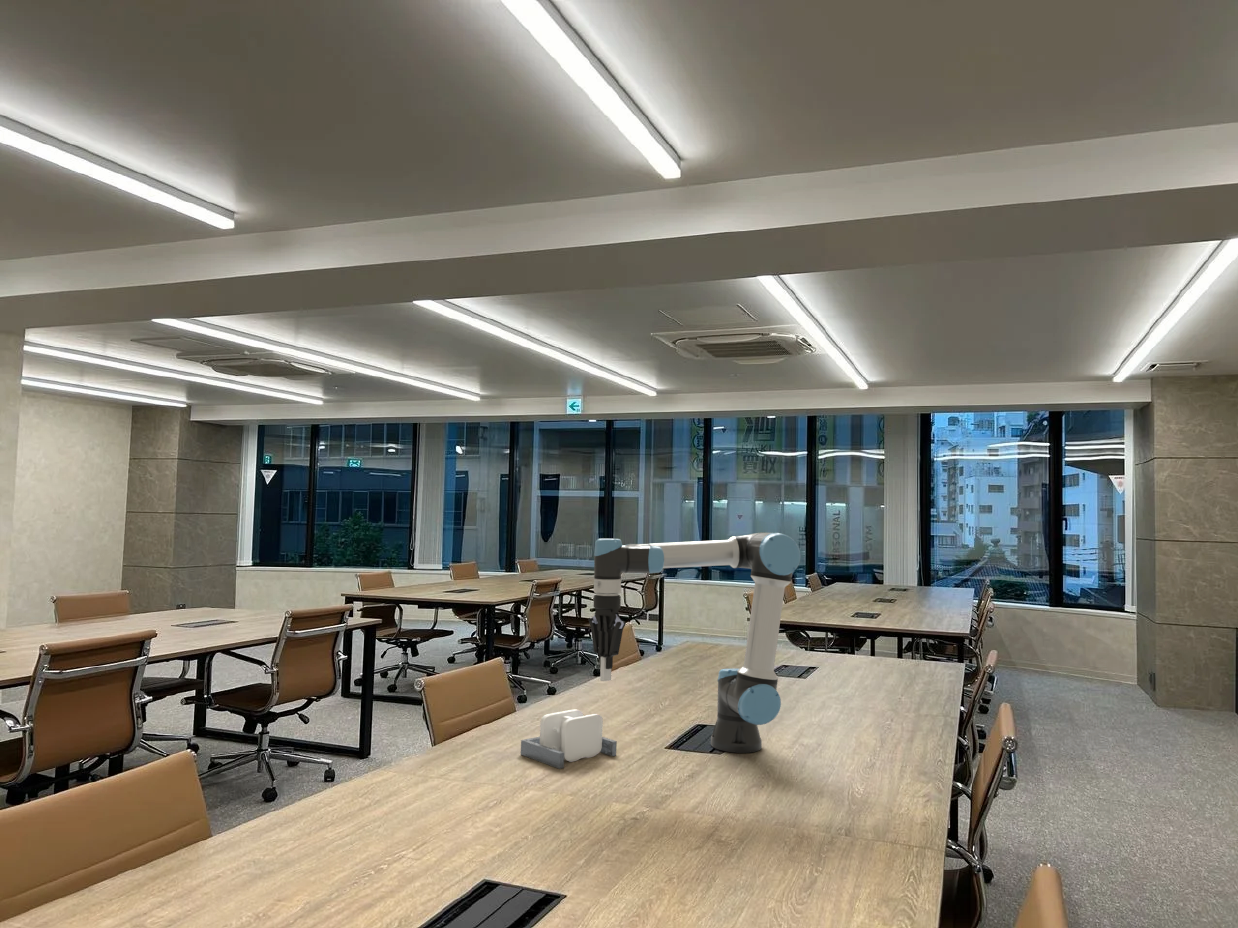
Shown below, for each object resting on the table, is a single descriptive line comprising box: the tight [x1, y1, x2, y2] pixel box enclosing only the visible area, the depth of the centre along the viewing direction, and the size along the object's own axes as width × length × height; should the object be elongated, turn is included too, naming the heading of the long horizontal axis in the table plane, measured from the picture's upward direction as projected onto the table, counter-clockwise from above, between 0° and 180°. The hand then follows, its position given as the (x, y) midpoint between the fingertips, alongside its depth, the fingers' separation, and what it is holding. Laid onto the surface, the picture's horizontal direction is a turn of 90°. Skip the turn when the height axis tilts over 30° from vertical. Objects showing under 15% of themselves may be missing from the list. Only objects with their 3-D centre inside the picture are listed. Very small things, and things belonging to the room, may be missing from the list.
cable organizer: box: [539, 708, 604, 763], centre depth 237 cm, size 15×11×12 cm
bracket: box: [520, 735, 618, 770], centre depth 237 cm, size 17×21×4 cm
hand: (605, 680), depth 231 cm, fingers closed
